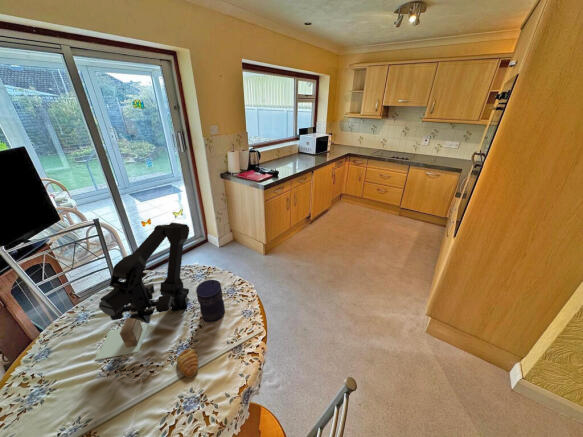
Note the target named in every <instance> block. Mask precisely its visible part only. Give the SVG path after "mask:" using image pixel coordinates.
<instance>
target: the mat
mask: <svg viewBox="0 0 583 437" xmlns="http://www.w3.org/2000/svg"><path fill="white" fill-rule="evenodd" d="M141 326H142V329H143V331H142V334H141V336H140V339H139V342H138V344H137V346H133V347H128V348H126V346H125V344H124V342H123V340H122V338H121V336H120V332H121V330H122V328H118V329H112V330H111V329H110V330H109V332H108V334H107V335H106V338H105V339H104V341H103V343H102V345H101V347H100V349H99V351H98V353H97V355H96V357H95V358H94V361H99V360H104V359H109V358H110V359H111V358H114V357H121V356H125V355H130V354H135V353H139V352H140V350H141V348H142V344H143V342H144V339H145V335H146V334H147V330H148V328H149V323H148V324H147V323H145V324H141Z"/></svg>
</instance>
